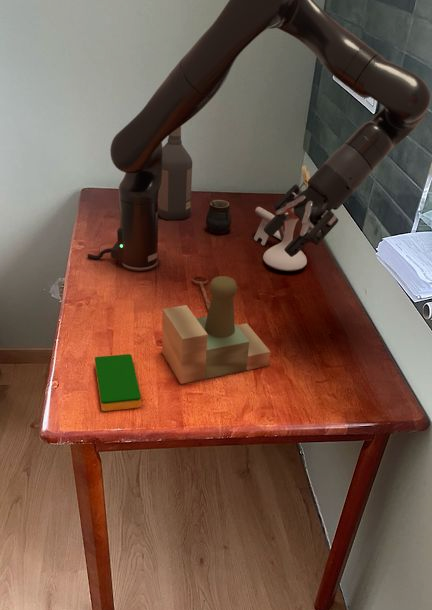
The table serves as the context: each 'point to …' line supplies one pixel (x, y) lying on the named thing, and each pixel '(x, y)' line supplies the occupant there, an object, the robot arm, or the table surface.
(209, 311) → the brown pawn figure
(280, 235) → the tablet stand
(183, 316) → the stepped block
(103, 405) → the dish sponge
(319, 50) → the robot arm
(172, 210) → the liquor
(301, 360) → the table surface
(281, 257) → the flower in vase
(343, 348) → the table surface
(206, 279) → the key
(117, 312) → the table surface
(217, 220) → the mate gourd
